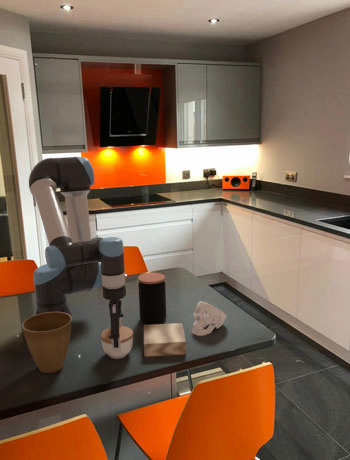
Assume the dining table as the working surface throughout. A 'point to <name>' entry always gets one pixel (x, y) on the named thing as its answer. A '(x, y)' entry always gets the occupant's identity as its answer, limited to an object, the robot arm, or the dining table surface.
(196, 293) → the dining table surface
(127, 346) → the lidded jar
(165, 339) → the beech block
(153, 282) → the coffee jar
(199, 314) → the skull bowl
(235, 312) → the dining table surface
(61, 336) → the plant pot
